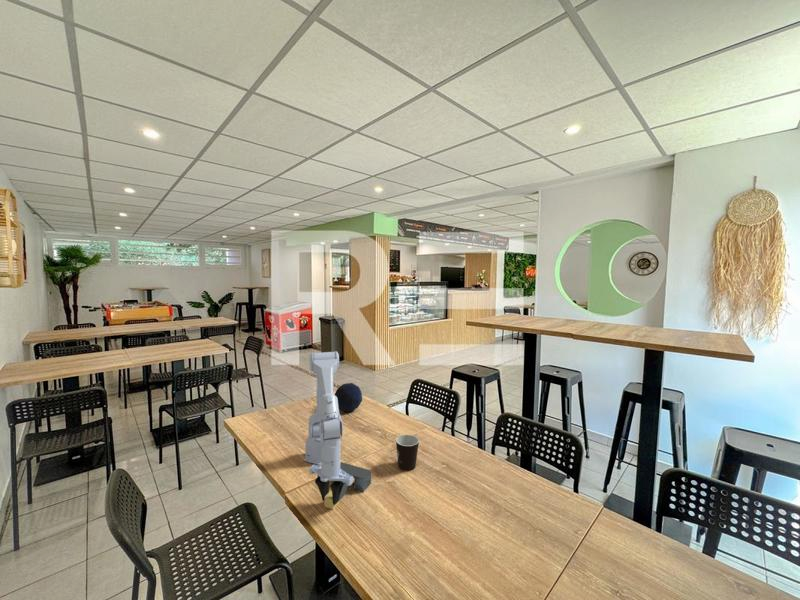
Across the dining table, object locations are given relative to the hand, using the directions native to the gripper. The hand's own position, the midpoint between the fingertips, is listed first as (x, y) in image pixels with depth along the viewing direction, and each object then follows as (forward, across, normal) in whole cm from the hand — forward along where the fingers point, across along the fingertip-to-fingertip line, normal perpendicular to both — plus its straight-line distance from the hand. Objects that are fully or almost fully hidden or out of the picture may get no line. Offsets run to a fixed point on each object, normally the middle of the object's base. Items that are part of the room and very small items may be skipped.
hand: (330, 500), depth 98 cm
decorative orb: (+2, -34, +64) cm, 72 cm away
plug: (+2, 0, +5) cm, 5 cm away
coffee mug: (+2, +13, +31) cm, 33 cm away
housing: (+2, 0, +12) cm, 12 cm away
